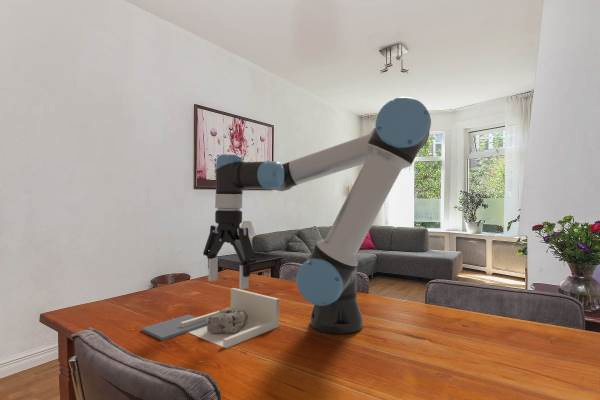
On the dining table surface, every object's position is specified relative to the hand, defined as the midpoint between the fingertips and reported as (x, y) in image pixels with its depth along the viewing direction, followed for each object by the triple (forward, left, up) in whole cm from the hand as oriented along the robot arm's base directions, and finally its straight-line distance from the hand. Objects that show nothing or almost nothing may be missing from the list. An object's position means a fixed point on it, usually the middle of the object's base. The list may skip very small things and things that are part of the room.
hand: (227, 284), depth 99 cm
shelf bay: (0, 0, -13) cm, 13 cm away
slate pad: (+12, +9, -13) cm, 19 cm away
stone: (0, 0, -13) cm, 13 cm away
